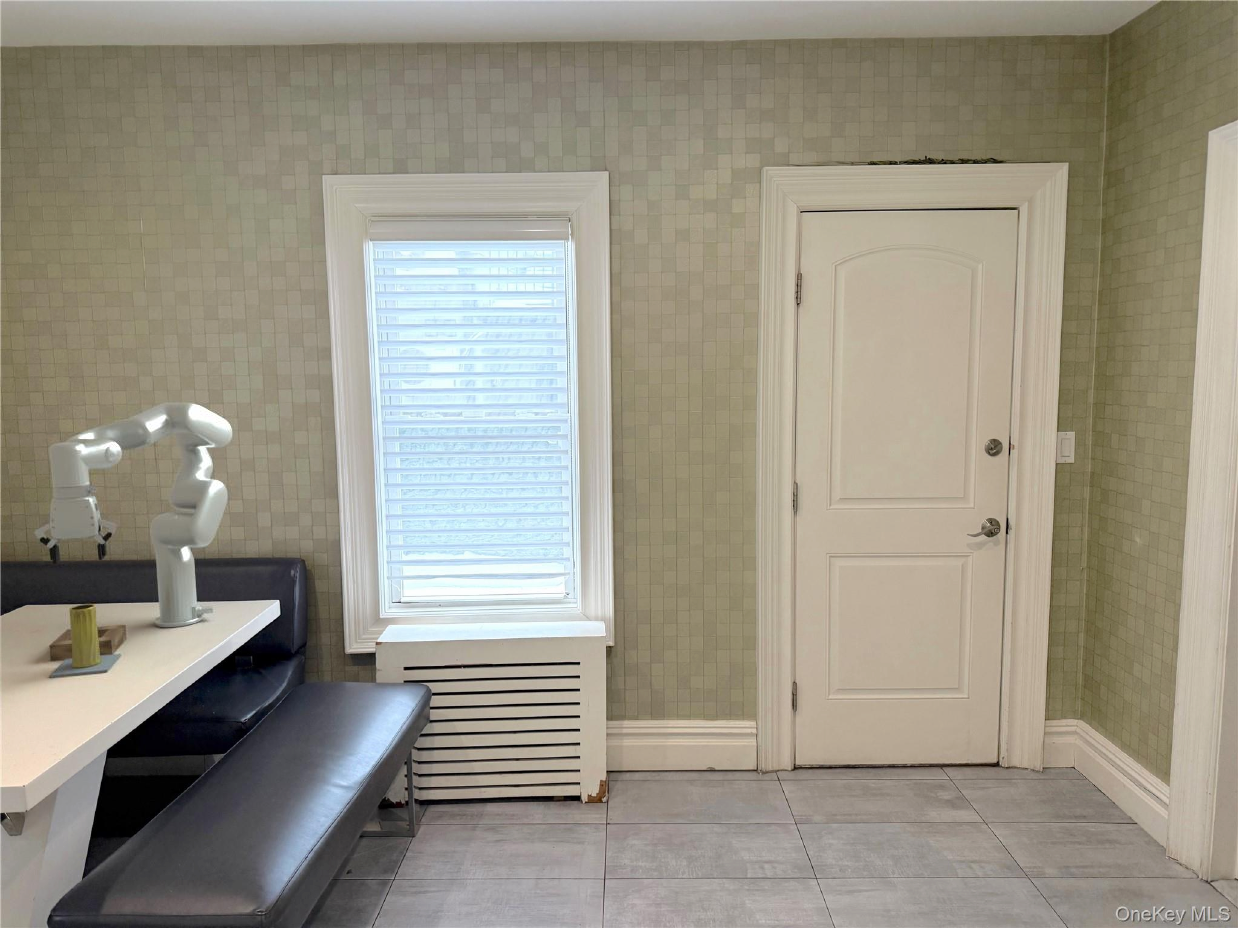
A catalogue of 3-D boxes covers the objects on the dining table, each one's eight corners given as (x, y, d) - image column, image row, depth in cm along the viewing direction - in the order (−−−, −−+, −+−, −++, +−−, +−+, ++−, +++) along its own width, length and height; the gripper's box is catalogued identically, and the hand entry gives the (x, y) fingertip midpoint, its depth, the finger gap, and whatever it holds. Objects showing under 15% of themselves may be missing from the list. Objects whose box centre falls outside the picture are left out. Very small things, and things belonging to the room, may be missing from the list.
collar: (126, 638, 220) (125, 624, 219) (112, 655, 207) (111, 639, 206) (68, 644, 216) (67, 629, 215) (50, 660, 203) (49, 645, 202)
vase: (70, 669, 195) (65, 611, 193) (73, 661, 200) (68, 605, 199) (100, 665, 198) (96, 608, 196) (102, 657, 203) (98, 602, 202)
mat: (121, 655, 206) (120, 653, 206) (107, 672, 195) (107, 669, 195) (66, 661, 203) (66, 658, 203) (48, 677, 191) (48, 675, 191)
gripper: (116, 488, 207) (122, 553, 209) (35, 492, 201) (43, 560, 203) (109, 492, 200) (115, 560, 202) (25, 497, 194) (33, 567, 196)
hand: (79, 560), depth 203 cm, fingers open, 9 cm apart
